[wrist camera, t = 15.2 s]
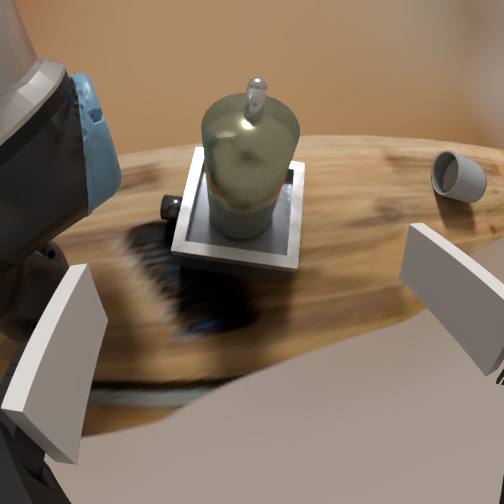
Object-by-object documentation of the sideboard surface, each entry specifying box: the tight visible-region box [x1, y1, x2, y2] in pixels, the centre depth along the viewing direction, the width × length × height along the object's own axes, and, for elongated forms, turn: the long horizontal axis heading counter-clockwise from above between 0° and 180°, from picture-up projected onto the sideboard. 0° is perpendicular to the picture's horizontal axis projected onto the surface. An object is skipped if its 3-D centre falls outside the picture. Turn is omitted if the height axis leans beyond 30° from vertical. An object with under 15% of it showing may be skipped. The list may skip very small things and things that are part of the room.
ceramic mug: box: [432, 150, 486, 203], centre depth 41 cm, size 11×8×8 cm
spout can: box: [201, 78, 300, 239], centre depth 26 cm, size 7×7×16 cm
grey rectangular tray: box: [160, 147, 305, 282], centre depth 35 cm, size 16×13×6 cm
